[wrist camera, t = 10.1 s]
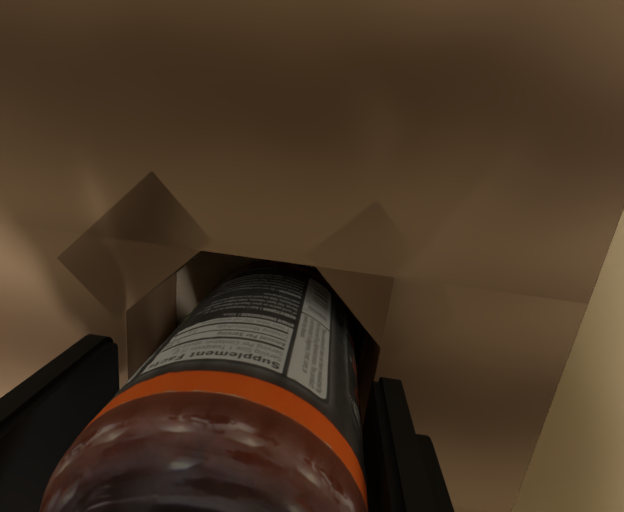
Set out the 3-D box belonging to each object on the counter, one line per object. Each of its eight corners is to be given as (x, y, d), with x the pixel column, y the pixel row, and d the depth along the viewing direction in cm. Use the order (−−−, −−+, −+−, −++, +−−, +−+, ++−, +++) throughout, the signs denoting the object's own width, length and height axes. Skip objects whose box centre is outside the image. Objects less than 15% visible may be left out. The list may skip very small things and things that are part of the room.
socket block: (444, 525, 17) (470, 619, 13) (67, 465, 17) (2, 541, 14) (604, 2, 11) (724, -64, 7) (17, -63, 11) (-118, -151, 8)
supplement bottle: (338, 402, 15) (334, 1008, 5) (200, 376, 15) (-124, 902, 5) (368, 271, 14) (480, 740, 3) (213, 242, 14) (-256, 585, 3)
